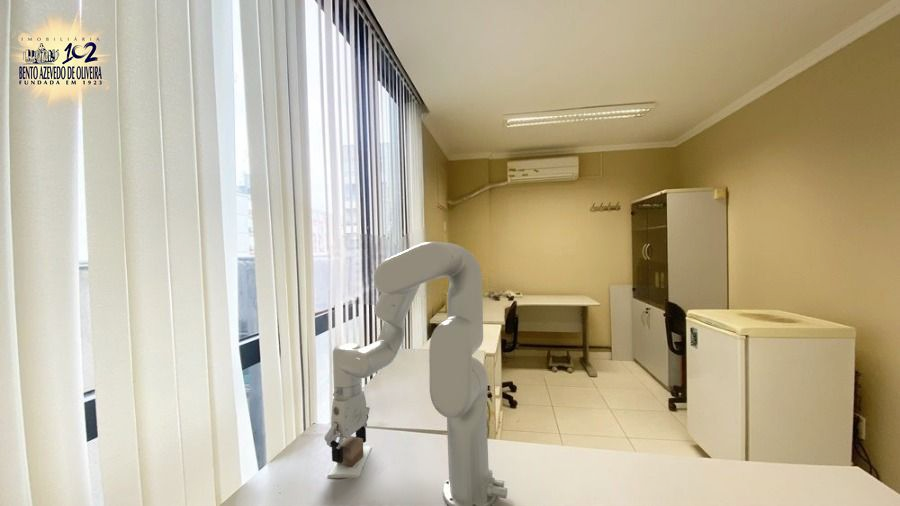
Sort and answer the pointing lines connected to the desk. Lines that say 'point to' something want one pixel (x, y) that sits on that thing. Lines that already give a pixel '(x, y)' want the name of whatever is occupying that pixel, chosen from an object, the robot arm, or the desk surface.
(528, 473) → the desk surface
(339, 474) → the external hard drive
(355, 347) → the robot arm
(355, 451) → the walnut block
